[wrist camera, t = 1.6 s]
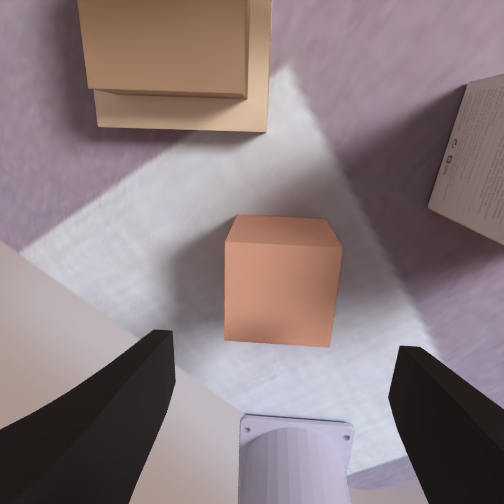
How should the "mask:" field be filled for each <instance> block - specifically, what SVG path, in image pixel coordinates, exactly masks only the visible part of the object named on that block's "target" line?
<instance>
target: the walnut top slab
mask: <svg viewBox="0 0 504 504" xmlns="http://www.w3.org/2000/svg"><path fill="white" fill-rule="evenodd" d="M77 3H78V11H79V19H80V27H81V35H82V43H83V51H84V59H85V67H86V74H87V82H88V88H89V89H94V90H98V91H103V92H107V93H111V94H116V95H137V96H166V97H196V98H225V99H248V64H249V29H250V0H77Z"/></svg>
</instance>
